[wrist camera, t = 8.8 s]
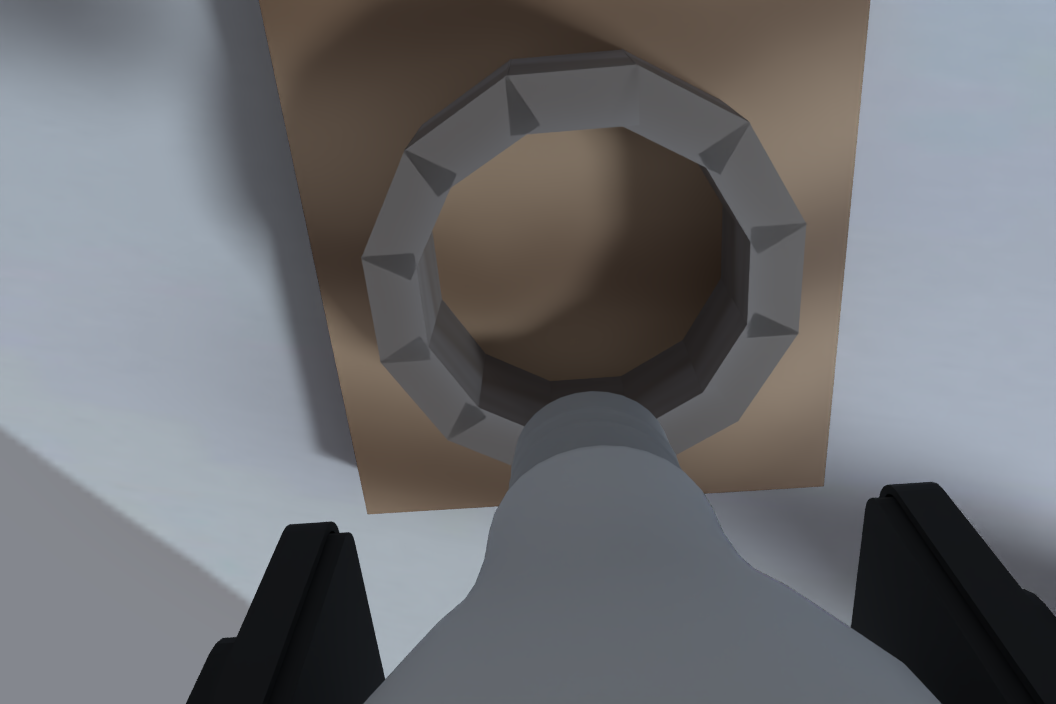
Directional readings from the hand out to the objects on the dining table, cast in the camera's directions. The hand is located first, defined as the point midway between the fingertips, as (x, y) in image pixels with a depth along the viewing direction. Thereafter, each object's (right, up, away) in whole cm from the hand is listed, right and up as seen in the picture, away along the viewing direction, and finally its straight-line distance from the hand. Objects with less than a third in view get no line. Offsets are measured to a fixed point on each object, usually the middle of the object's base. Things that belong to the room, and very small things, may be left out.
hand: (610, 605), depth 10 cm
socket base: (0, +7, +13) cm, 15 cm away
